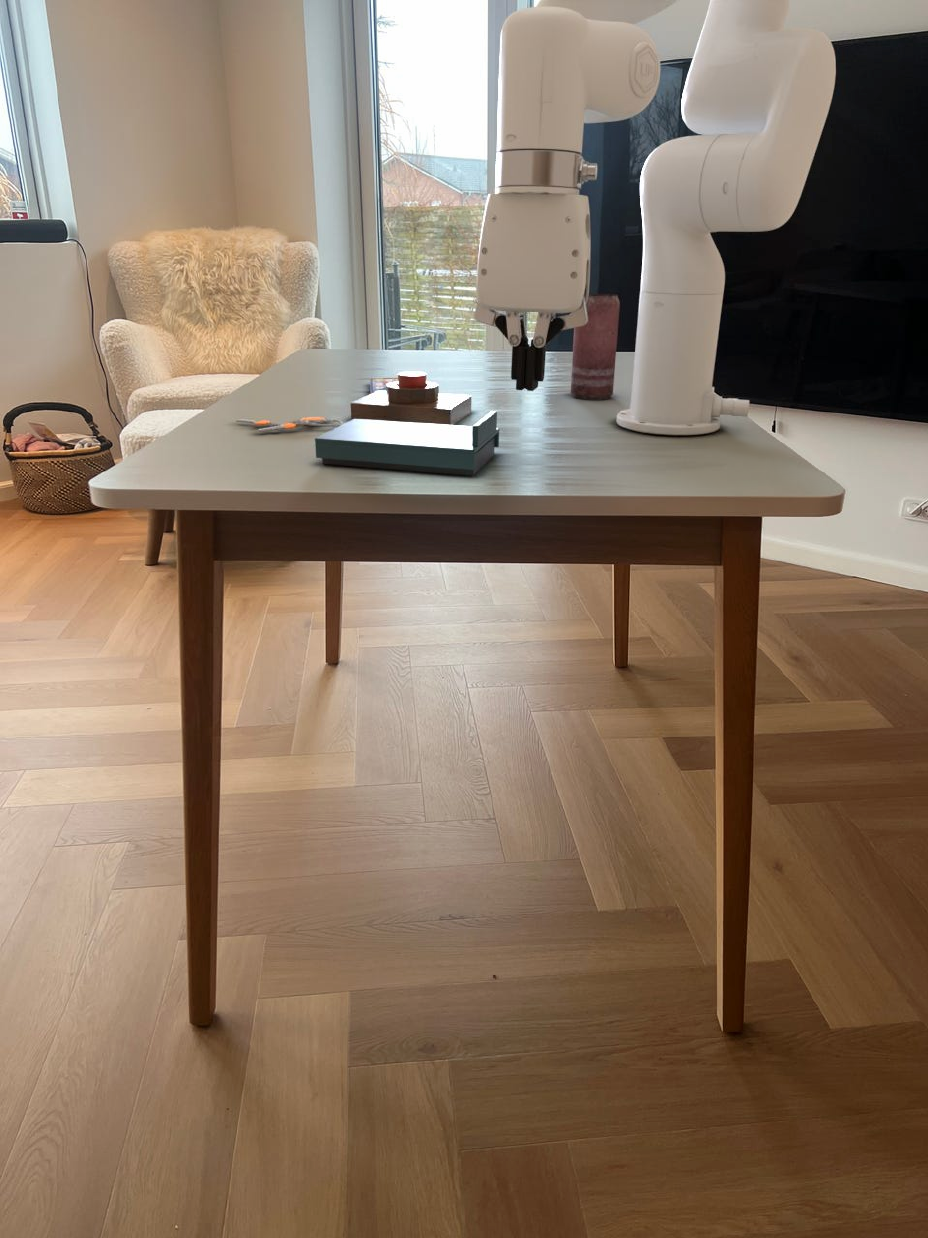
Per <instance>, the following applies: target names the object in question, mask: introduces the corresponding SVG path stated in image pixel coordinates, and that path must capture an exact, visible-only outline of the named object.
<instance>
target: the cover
mask: <svg viewBox="0 0 928 1238" xmlns="http://www.w3.org/2000/svg"><path fill="white" fill-rule="evenodd" d="M343 423H344V422H343ZM493 437H495V444H494V448H499V447H500V428H499V427H498V412H497V411H496V410H492V411H490V412H489V413H487V414H486V415H485V416H483V417H482V418H481V419H480V420H478V421H476V422H475V423H474V424H473V425H457V424H454V425H444V424H428V423H413V422H398V421H382V420H367V419H352V420H351V419H350V420H348V421H347V422H345V423H344V424H342V425H340V426H339V427H335V428H332V429H331V430H328V431H327V432H325V433H323V434H321V435H319V436H317V437H315V438H314V445H315V458H316V459H322V458H325V459H338V460H351V461H363V462H376V463H389V464H402V465H415V466H428V467H441V468H454V469H466V470H475V453H476V452H477V451H478V450H479V449H480V448H481V447H483V446H484V445H485V444H486V443H487V442H488V441H489V440H490V439H491V438H493Z"/></svg>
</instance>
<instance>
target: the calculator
mask: <svg viewBox="0 0 928 1238" xmlns="http://www.w3.org/2000/svg"><path fill="white" fill-rule="evenodd" d="M494 444H495V437H493V438H491V439H490V440H489V441H488V442H487V443H486V444H485V445H484V446H483V447H481V448H480V449H479V450H478V451H477V452H476V453H475V470H466V469H454V468H441V467H428V466H415V465H402V464H389V463H376V462H363V461H351V460H338V459H325V458H321V462H322V465H330V466H341V467H342V466H343V467H354V468H355V467H356V468H368V469H380V470H393V471H405V472H419V473H429V474H431V473H433V474H443V475H444V474H445V475H456V476H466V477H467V476H468V477H473V476H475V475H476V474H477V473H478V472H479V471H480V470H481V469H482V468H483V467H484V466H485V465H486V464H487V463H488V462H489V461H490V460H491V459H492V458H493V457H494V456H495V447H494Z"/></svg>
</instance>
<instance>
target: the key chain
mask: <svg viewBox="0 0 928 1238" xmlns="http://www.w3.org/2000/svg"><path fill="white" fill-rule="evenodd" d="M235 422H237V423H247V424H253V425H255V426H266V425H268V426H270V427H264V428H263V427H262V428H258V429H257V432H259V433H263V432H268V431H269V432H270V431H276V430H290V429H295V428H301V427H302V426H310V427H312V426H313V427H335V428H337V427H339V426H340V425H342V424H344V421H342V420H341V419H327V418H326V417H322V416H307V417H306V416H305V417H302V418H300V419H299V420H293V421H290V422H287V423H272V422H271V421H270V420H267V419H260V420H253V419H244V418H243V419H242V418H239V419H236V421H235ZM326 422H335V423H339V424H333V423H326Z"/></svg>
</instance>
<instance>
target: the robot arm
mask: <svg viewBox="0 0 928 1238" xmlns="http://www.w3.org/2000/svg"><path fill="white" fill-rule="evenodd" d="M679 1H680V0H539V1H538V3H537V5H536V6H531V7H525V8H521V9H518V10H516V11H513V12H511V14H509V15H508V16H507V17H506V19H505V20H504V22H503V24H502V26H501V27H502V28H501V31H500V43H499V68H498V69H499V70H498V72H499V73H498V101H497V129H496V130H497V133H496V134H497V135H496V159H495V160H496V161H495V184H494V185H495V188H494V193H488V195H487V199H486V203H485V208H484V214H483V219H482V224H481V229H480V230H481V232H480V239H479V247H478V255H477V267H476V280H475V281H476V282H475V283H476V285H475V295H476V302H477V304H476V308H475V310H474V320H475V321H477V322H478V323H481V324H485V325H488V326H491V327H494V328H497V329H498V330H499V332H500V333H501V334H502V335H503V336H504V337H505V338H506V340H507V341H508V344H509V345H510V346H511V367H510V368H511V370H510V379H511V381H515V390H516V391H523V390H526V391H527V392H533V391H535V390H536V389H538V387H539V382H544V379H545V371H546V357H547V355H546V354H547V345H549V344H550V342H552V341H553V340H554V339H555V338H556V337H557V336H558V335H559V334H560V333H561V332H562V331H566V330H570V329H574V328H576V327H580V326H583V325H585V324H587V322H588V315H587V309H586V303H587V300H588V294H590V281H591V279H590V278H591V243H592V242H591V236H592V235H591V213H590V211H591V210H590V203H589V197H588V195H584V194H580V190H582V185H584V183H588V182H589V181H597V177H598V163H597V162H594V163H593V162H589V161H586V160H585V159H584V156H583V155H582V154H583V142H584V141H583V140H584V127H585V124H597V123H598V124H599V123H610V122H619V121H624V120H628V119H630V118H633V117H635V116H637V115H638V114H640V113H641V112H643V111H644V110H645V109H646V108H647V107H648V106H649V105H650V103H651V102H652V100H653V99H654V98H655V96H656V93H657V90H658V88H659V84H660V79H661V60H660V59H661V58H660V55H659V51H658V49H657V45H656V43H655V42H654V41H653V39H652V38H651V35H649V34H648V33H647V32H646V31H645V30H644V29H643V28H641V27H640V26H638V25H637V24H638V23H641V22H643V21H646V20H647V19H650V18H652V17H653V16H655V15H657V14H659V13H661V12H662V11H664V10H666V9H668V8H669V7H671V6H673V5H675V4H676V3H677V2H679ZM789 9H790V0H709V5H708V8H707V12H706V15H705V18H704V22H703V25H702V29H701V32H700V35H699V38H698V41H697V44H696V47H695V51H694V54H693V57H692V60H691V63H690V66H689V70H688V72H687V76H686V79H685V84H684V88H683V92H682V98H681V116H682V120H683V122H684V124H685V126H686V127H687V128H688V129H689V130H690V131H691V132H693V133H695V134H698V135H687V136H681V137H677V138H673V139H670V140H668V141H665V142H663V143H662V144H660V145H659V146H657V147H656V148H655V149H653V151H652V152H651V153H650V154H649V155H648V157H647V158H646V159H645V162H644V165H643V167H642V170H641V175H640V182H639V196H640V197H639V198H640V208H641V220H642V265H641V277H640V278H641V279H640V291H639V299H638V301H639V302H638V312H637V323H636V324H637V326H636V337H635V349H634V350H635V351H634V358H633V359H634V360H633V372H632V383H631V394H630V395H631V396H630V405H629V408H627V409H623V410H620V411H619V412H618V413H616V424H617V425H618V426H619V427H621V428H624V429H626V430H630V431H635V432H640V433H645V434H652V435H662V436H663V435H665V436H697V435H704V434H710V433H714V432H716V431H718V430H719V429H720V428H721V423H722V422H721V421H722V420H721V417H720V416H721V415H726V416H732V417H745V418H747V417H748V415H749V408H750V399H739V398H735V397H734V398H732V397H728V398H723V396H722V395H721V396H719V395H715V386H713V381H714V373H715V363H716V357H717V349H718V348H717V347H718V340H719V331H720V324H721V315H722V308H723V300H724V293H725V292H724V291H725V284H726V271H725V270H726V269H725V265H724V262H723V259H722V257H721V256H722V255H721V253H720V252H719V249H718V248H717V245H716V244H715V241H714V239H713V237H712V235H711V233H717V232H733V233H734V232H736V233H737V232H739V233H740V232H741V233H742V232H743V233H745V232H746V233H749V232H752V233H754V232H756V233H757V232H758V233H759V232H769V231H773V230H776V229H780V228H781V227H782V226H784V225H785V224H786V223H787V222H788V221H789V220H790V219H791V217H792V215H793V214H794V212H795V210H796V208H797V206H798V204H799V202H800V199H801V197H802V193H803V190H804V187H805V185H806V181H807V178H808V175H809V172H810V170H811V166H812V163H813V160H814V157H815V153H816V151H817V148H818V145H819V142H820V138H821V135H822V132H823V129H824V126H825V123H826V122H827V121H826V120H827V118H828V115H829V111H830V107H831V104H832V100H833V95H834V90H835V85H836V75H837V69H836V67H837V66H836V53H835V49H834V46H833V43H832V41H831V39H830V38H829V36H828V35H826V33H824V32H822V31H821V30H819V29H816V28H811V27H796V28H785V29H784V26H785V22H786V19H787V15H788V12H789ZM501 312H505V313H501ZM525 313H536V314H537V318H536V321H535V322H536V323H535V328H534V333H533V337H532V339H531V340H530V343H529V338H528V336H527V328H526V319H525V318H526V317H525V316H526V315H525ZM568 313H569V314H568ZM556 314H566V315H561V316H557V317H556Z"/></svg>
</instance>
